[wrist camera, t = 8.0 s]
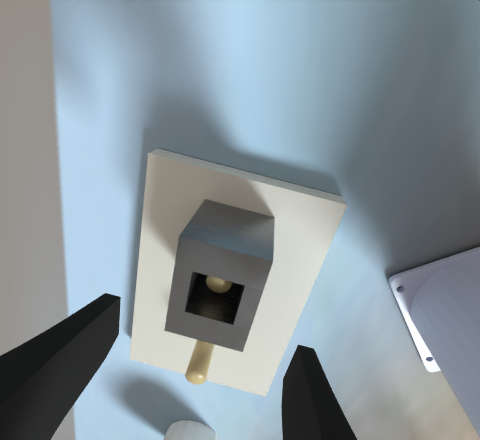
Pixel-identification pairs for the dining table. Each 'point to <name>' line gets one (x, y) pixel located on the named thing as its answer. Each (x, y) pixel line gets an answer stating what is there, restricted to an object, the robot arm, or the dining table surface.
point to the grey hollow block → (220, 274)
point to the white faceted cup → (189, 431)
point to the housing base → (273, 297)
